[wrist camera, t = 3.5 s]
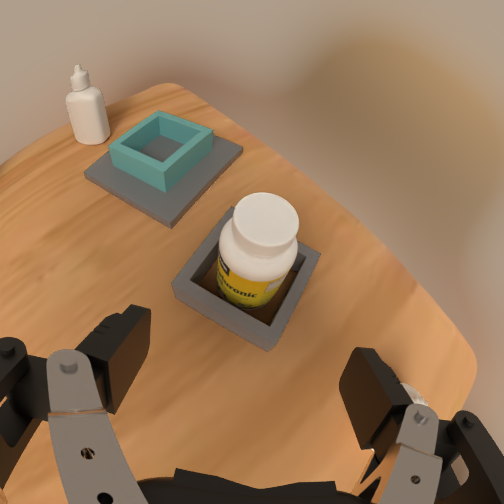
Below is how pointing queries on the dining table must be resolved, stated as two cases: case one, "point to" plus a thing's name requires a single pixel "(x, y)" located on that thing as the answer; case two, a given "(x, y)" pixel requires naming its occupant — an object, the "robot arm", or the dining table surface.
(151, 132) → the port
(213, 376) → the dining table surface
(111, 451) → the robot arm
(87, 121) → the eye dropper bottle
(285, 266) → the supplement bottle
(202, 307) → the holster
